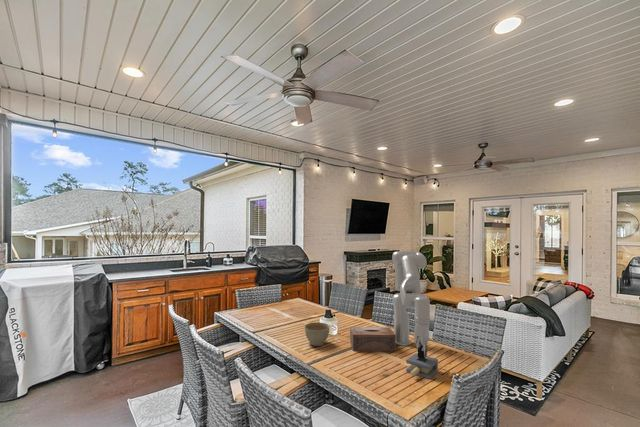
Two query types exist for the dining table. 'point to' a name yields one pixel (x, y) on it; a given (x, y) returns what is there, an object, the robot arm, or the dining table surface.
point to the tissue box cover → (372, 339)
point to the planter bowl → (317, 333)
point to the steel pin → (424, 354)
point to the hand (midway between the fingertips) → (422, 356)
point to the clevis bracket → (422, 366)
